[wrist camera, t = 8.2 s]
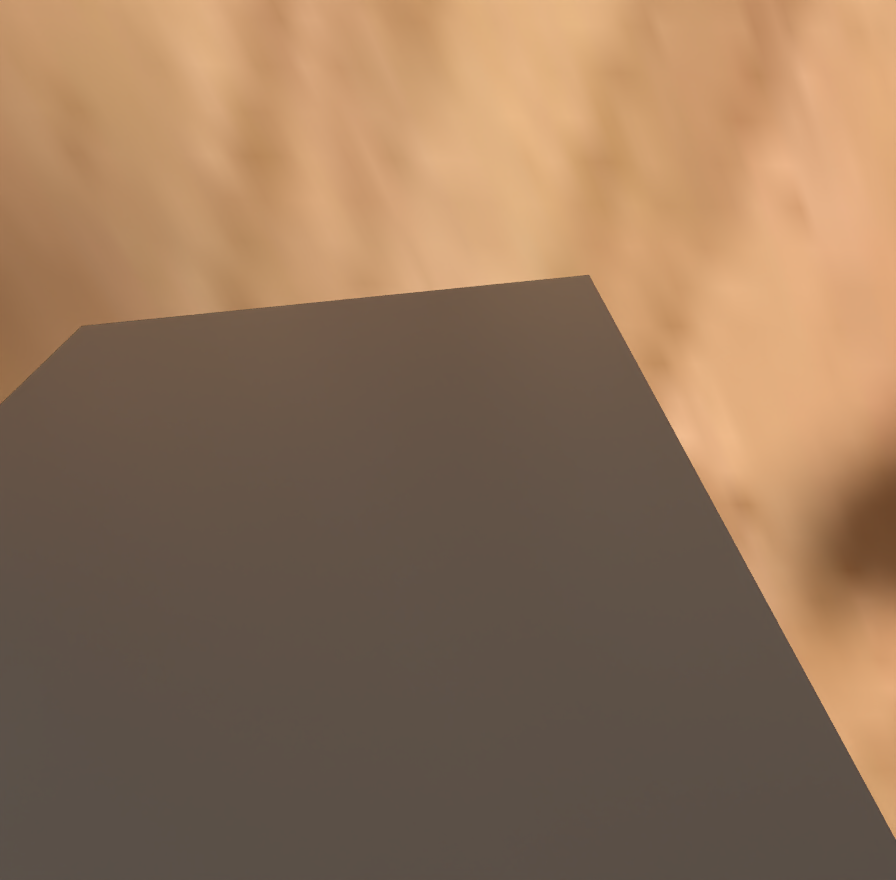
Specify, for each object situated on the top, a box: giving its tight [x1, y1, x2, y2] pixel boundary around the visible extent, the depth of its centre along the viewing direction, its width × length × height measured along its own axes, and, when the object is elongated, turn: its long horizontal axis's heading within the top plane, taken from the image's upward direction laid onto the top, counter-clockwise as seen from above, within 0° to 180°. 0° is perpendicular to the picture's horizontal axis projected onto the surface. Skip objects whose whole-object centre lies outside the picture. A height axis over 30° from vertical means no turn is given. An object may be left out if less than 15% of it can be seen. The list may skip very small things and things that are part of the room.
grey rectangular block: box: [0, 275, 896, 880], centre depth 10 cm, size 11×7×9 cm, turn 6°
